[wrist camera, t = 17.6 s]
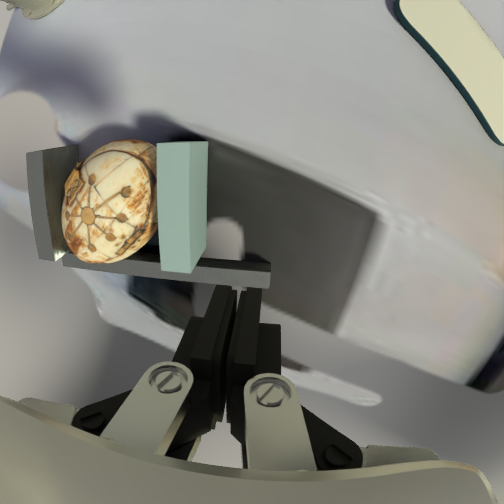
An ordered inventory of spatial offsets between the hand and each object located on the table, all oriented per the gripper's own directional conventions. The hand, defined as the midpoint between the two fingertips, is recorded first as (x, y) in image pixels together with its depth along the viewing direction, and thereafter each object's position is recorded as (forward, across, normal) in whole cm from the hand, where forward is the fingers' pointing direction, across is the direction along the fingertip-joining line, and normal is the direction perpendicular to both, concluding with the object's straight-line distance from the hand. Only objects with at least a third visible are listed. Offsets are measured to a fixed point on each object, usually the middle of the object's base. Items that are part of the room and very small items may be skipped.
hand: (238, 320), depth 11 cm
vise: (+22, +12, +1) cm, 25 cm away
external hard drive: (+23, -26, -22) cm, 41 cm away
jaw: (+22, +8, 0) cm, 23 cm away
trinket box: (+22, +16, 0) cm, 28 cm away
